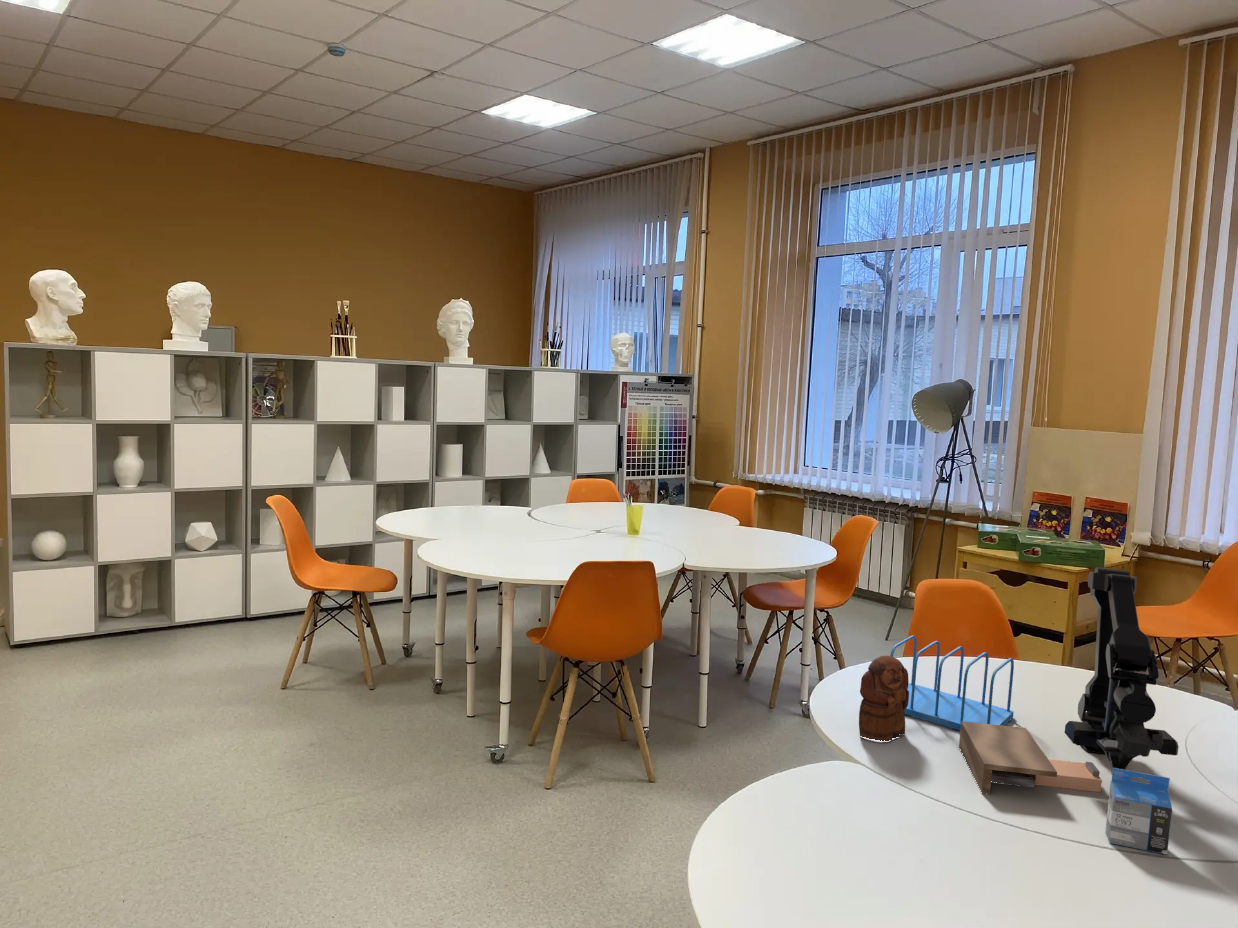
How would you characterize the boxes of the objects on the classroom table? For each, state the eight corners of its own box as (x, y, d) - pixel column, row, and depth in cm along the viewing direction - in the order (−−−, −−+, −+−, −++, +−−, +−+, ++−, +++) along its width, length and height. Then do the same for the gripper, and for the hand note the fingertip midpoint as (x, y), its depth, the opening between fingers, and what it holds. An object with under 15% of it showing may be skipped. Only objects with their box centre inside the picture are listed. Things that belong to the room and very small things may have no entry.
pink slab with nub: (1087, 775, 171) (1089, 758, 171) (1100, 792, 165) (1102, 775, 164) (1024, 767, 173) (1026, 751, 173) (1035, 784, 167) (1036, 767, 166)
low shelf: (1023, 754, 180) (1025, 727, 179) (1053, 801, 160) (1057, 771, 159) (958, 747, 182) (961, 720, 181) (981, 793, 162) (984, 763, 162)
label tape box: (1108, 843, 146) (1115, 776, 145) (1104, 831, 150) (1111, 766, 149) (1167, 856, 143) (1175, 787, 142) (1162, 843, 147) (1170, 776, 146)
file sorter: (1013, 718, 199) (1019, 655, 197) (990, 741, 186) (997, 674, 184) (909, 689, 215) (914, 630, 213) (881, 708, 202) (886, 646, 200)
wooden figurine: (877, 747, 180) (884, 666, 178) (853, 736, 186) (859, 657, 183) (911, 735, 187) (918, 656, 185) (887, 724, 192) (894, 648, 190)
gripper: (1088, 714, 159) (1079, 792, 161) (1197, 725, 156) (1187, 805, 158) (1067, 692, 170) (1059, 765, 172) (1169, 701, 167) (1159, 776, 169)
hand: (1115, 778), depth 167 cm, fingers closed
